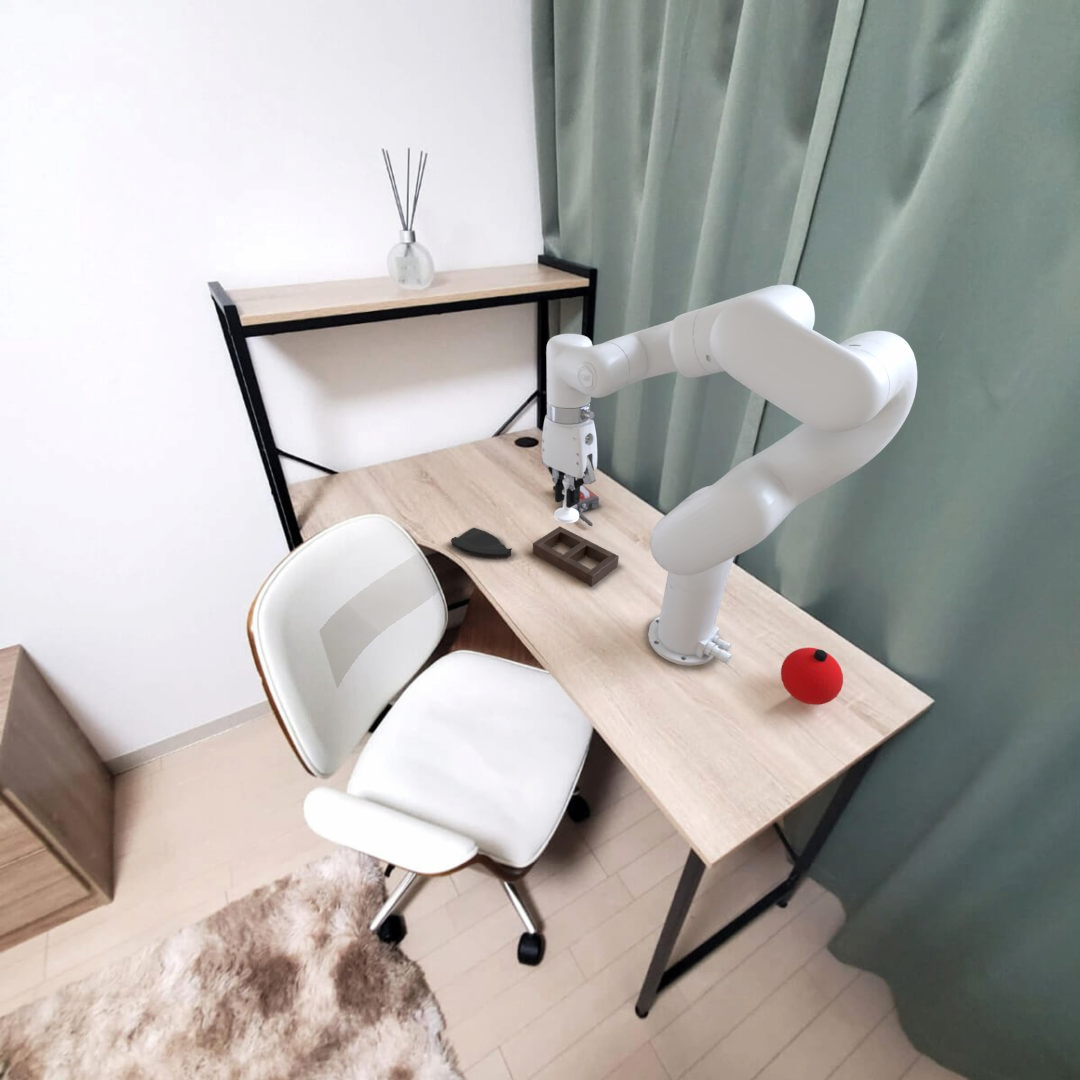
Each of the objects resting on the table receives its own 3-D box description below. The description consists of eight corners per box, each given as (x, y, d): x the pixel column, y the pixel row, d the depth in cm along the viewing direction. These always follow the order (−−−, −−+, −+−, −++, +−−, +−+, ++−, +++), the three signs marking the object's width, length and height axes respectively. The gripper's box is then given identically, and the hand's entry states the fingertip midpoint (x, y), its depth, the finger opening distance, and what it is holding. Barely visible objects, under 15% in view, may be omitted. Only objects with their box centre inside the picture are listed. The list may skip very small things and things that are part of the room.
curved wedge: (493, 569, 115) (493, 563, 114) (449, 546, 122) (448, 540, 121) (518, 550, 120) (517, 544, 119) (474, 529, 127) (474, 524, 126)
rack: (617, 566, 116) (618, 555, 114) (591, 587, 110) (592, 576, 108) (559, 536, 125) (559, 526, 123) (532, 554, 119) (532, 543, 118)
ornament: (766, 696, 88) (782, 655, 82) (785, 664, 93) (801, 623, 88) (823, 726, 83) (844, 685, 77) (839, 690, 89) (860, 649, 83)
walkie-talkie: (545, 493, 141) (587, 531, 126) (545, 479, 138) (588, 515, 124) (573, 485, 144) (617, 521, 130) (574, 471, 141) (619, 506, 127)
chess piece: (584, 516, 104) (586, 471, 98) (567, 526, 101) (569, 480, 96) (565, 507, 107) (566, 462, 101) (548, 516, 104) (549, 471, 98)
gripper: (619, 416, 89) (612, 509, 100) (549, 394, 98) (550, 482, 109) (590, 429, 85) (586, 525, 95) (520, 405, 94) (524, 495, 105)
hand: (567, 501), depth 102 cm, fingers closed on chess piece
